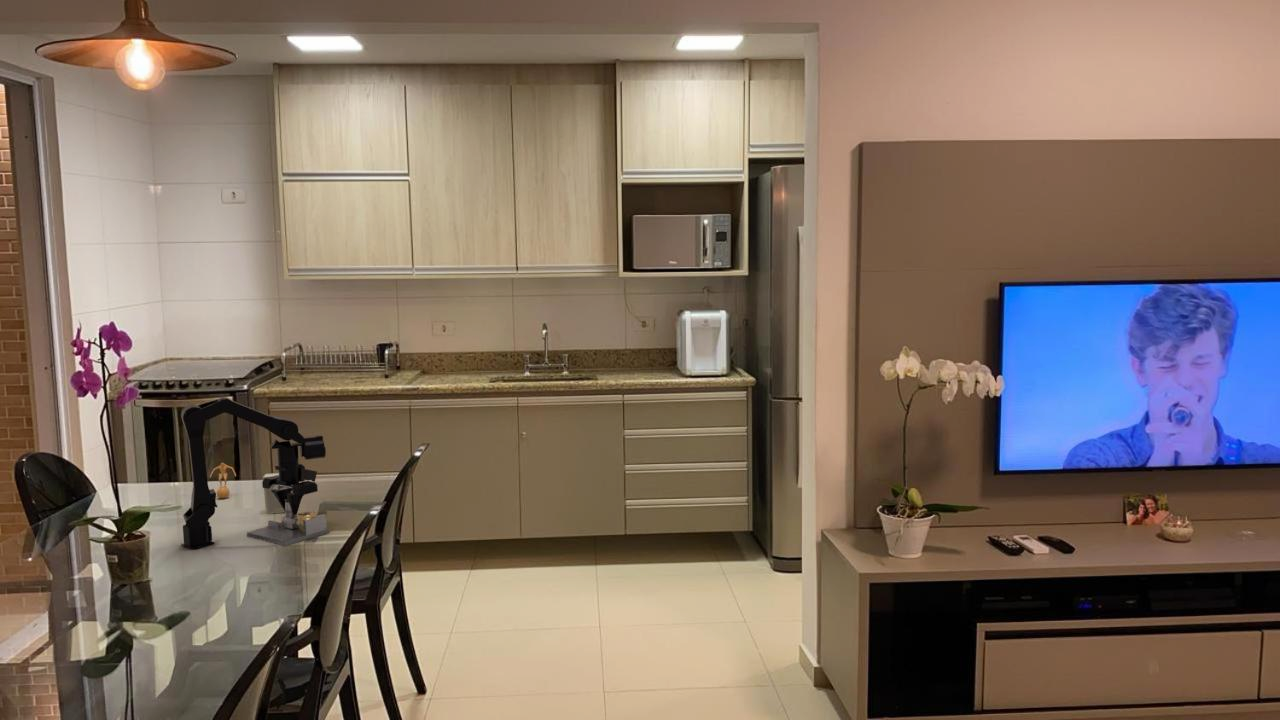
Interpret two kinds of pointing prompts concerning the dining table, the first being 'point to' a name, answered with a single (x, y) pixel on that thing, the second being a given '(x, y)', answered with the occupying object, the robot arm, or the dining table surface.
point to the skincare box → (271, 499)
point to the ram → (289, 517)
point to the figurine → (222, 491)
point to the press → (291, 531)
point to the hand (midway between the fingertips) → (291, 513)
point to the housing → (304, 516)
